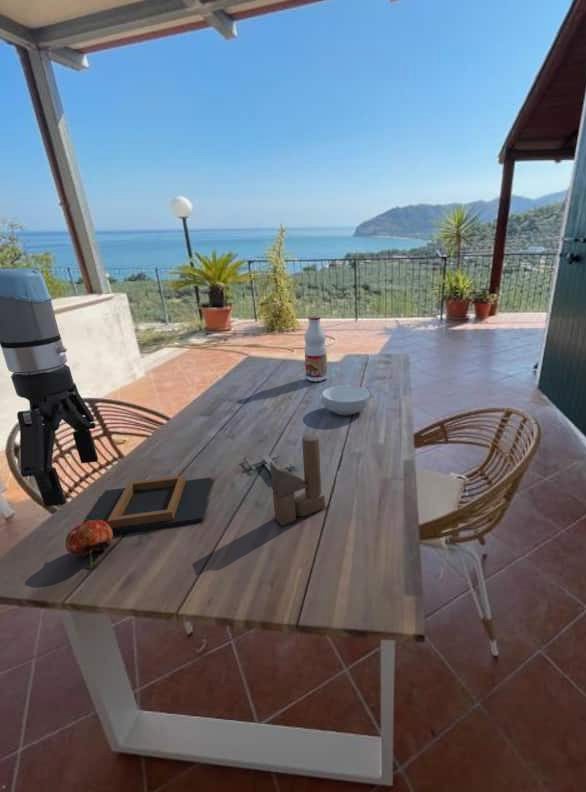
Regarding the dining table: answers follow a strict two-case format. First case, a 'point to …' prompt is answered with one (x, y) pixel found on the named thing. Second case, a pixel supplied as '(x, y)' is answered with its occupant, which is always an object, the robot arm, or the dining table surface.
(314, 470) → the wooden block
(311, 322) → the fruit juice
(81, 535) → the red round lump
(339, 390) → the cereal bowl
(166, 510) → the back pad
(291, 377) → the dining table surface
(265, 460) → the clamp
